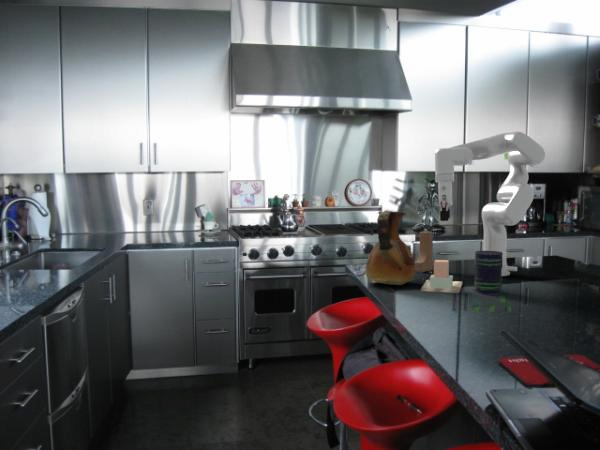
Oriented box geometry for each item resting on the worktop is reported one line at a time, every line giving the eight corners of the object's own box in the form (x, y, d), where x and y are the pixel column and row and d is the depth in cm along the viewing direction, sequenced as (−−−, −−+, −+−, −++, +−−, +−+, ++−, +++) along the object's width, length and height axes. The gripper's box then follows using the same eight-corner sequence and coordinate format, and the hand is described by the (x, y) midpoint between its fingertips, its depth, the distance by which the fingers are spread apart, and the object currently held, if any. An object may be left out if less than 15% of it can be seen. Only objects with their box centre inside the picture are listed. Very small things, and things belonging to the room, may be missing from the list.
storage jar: (502, 290, 205) (502, 251, 204) (502, 295, 196) (503, 254, 194) (474, 288, 208) (474, 250, 207) (473, 294, 199) (474, 253, 198)
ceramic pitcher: (420, 281, 225) (420, 209, 222) (408, 290, 206) (408, 212, 204) (374, 278, 233) (374, 208, 230) (359, 287, 215) (359, 211, 212)
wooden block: (421, 272, 245) (421, 233, 243) (413, 271, 248) (413, 232, 247) (432, 270, 251) (433, 231, 249) (424, 269, 254) (425, 231, 252)
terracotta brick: (448, 275, 209) (448, 260, 208) (447, 278, 204) (447, 262, 204) (435, 275, 211) (435, 259, 210) (433, 277, 206) (433, 261, 205)
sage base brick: (452, 285, 209) (452, 275, 209) (451, 288, 204) (451, 278, 203) (431, 284, 212) (431, 274, 212) (429, 287, 206) (429, 277, 206)
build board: (462, 284, 218) (462, 281, 217) (459, 293, 201) (459, 290, 201) (426, 282, 222) (426, 279, 222) (421, 290, 206) (421, 288, 205)
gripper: (452, 178, 214) (453, 221, 216) (455, 177, 231) (455, 217, 232) (433, 179, 217) (434, 221, 218) (437, 178, 233) (437, 217, 235)
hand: (445, 219), depth 225 cm, fingers open, 9 cm apart
